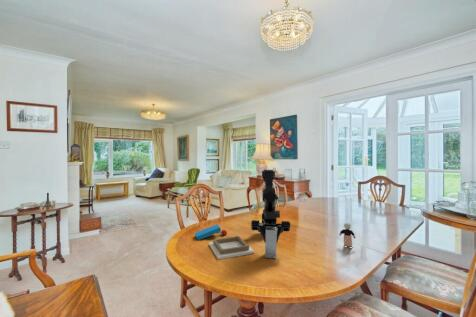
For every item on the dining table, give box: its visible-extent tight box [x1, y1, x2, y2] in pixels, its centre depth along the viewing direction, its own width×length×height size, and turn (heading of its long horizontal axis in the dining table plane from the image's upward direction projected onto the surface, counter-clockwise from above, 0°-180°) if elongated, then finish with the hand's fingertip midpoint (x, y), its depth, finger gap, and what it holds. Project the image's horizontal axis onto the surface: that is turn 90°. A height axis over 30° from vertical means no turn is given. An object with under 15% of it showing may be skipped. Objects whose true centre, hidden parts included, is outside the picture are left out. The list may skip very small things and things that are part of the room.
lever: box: [194, 223, 228, 241], centre depth 133 cm, size 7×7×18 cm
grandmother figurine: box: [338, 222, 357, 248], centre depth 117 cm, size 8×4×13 cm, turn 71°
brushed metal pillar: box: [264, 226, 278, 259], centre depth 106 cm, size 5×5×13 cm
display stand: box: [208, 235, 255, 260], centre depth 115 cm, size 18×18×3 cm
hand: (270, 242), depth 104 cm, fingers closed on brushed metal pillar, 5 cm apart
